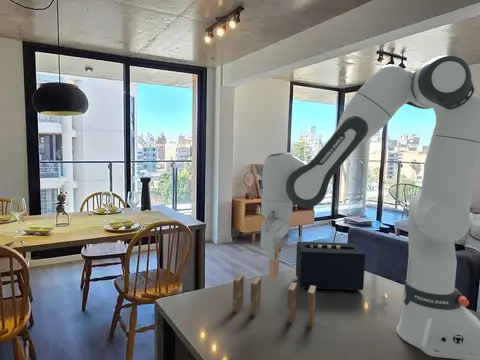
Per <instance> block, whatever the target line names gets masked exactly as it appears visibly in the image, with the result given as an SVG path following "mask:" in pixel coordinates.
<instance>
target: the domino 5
mask: <svg viewBox="0 0 480 360" xmlns="http://www.w3.org/2000/svg"><path fill="white" fill-rule="evenodd" d="M316 290H317V288H316V286H312V285H310V288H309V290H307V304H306V323H305V324H306V327H308V328H313V326H314V322H315V316H316V315H315V314H316V311H315V310H316V295H317V294H316V293H317V291H316Z"/></svg>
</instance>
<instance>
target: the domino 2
mask: <svg viewBox="0 0 480 360" xmlns="http://www.w3.org/2000/svg"><path fill="white" fill-rule="evenodd" d="M261 292H262V277H260V276H256V277H255V278H254V279H253V280H252V281H251V283H250V304H249V305H250V308H249V309H250V310H249V311H250V313H249V315H250V317H251V316H252V317H256V316H257V314H258V313H259V312H260V309H261Z"/></svg>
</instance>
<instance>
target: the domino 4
mask: <svg viewBox="0 0 480 360" xmlns="http://www.w3.org/2000/svg"><path fill="white" fill-rule="evenodd" d="M297 290H298V283H297V282H291V283H290V284H289V287H288V288H287V307H286V308H287V310H286V311H287V312H286V313H287V314H286V323H287V324H294V321H295V318H296V315H297V293H298V292H297Z"/></svg>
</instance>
